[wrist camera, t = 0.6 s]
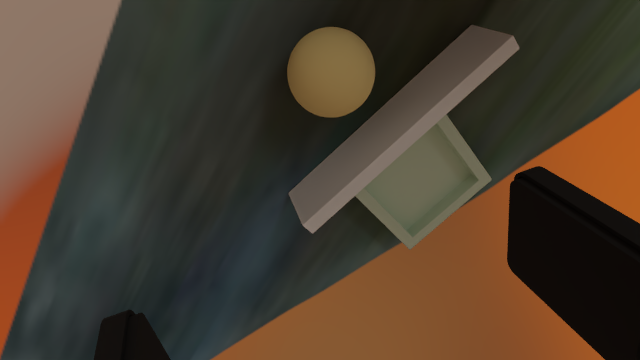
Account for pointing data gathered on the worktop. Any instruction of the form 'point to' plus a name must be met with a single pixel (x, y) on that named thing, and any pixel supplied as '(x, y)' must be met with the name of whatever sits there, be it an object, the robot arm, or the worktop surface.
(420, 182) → the tray
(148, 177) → the worktop surface
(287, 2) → the worktop surface
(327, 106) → the ball
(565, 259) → the robot arm
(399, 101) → the wall
